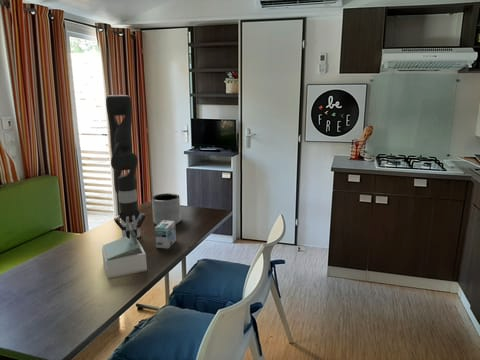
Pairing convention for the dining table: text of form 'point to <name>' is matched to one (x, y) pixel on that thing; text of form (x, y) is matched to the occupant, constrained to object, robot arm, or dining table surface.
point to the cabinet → (125, 263)
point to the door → (121, 245)
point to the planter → (166, 208)
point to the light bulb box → (165, 234)
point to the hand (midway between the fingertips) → (131, 237)
